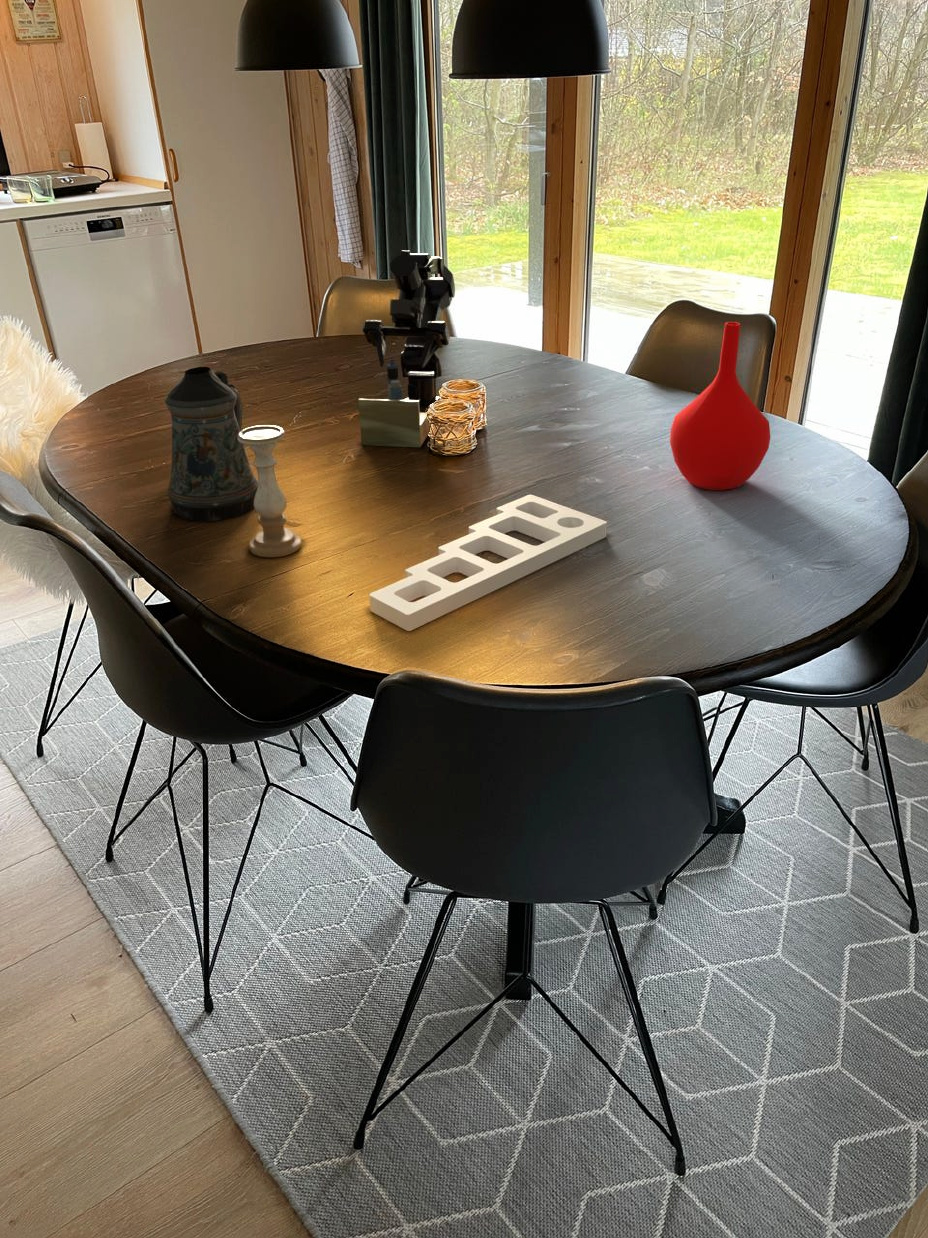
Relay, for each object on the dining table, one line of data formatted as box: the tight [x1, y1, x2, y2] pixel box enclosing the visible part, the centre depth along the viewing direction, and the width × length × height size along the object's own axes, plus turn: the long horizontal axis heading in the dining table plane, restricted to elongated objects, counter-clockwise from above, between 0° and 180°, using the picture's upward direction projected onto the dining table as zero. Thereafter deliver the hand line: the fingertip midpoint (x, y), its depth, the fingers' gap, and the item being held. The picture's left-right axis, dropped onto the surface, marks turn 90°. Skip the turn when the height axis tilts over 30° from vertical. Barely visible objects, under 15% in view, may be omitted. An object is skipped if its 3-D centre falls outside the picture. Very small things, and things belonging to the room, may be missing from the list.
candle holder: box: [237, 424, 302, 558], centre depth 158 cm, size 9×9×20 cm
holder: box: [368, 494, 608, 632], centre depth 156 cm, size 45×18×3 cm, turn 134°
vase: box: [669, 321, 771, 491], centre depth 178 cm, size 18×18×30 cm
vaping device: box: [386, 359, 403, 400], centre depth 206 cm, size 3×5×12 cm, turn 13°
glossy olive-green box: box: [357, 398, 430, 448], centre depth 208 cm, size 10×13×10 cm
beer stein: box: [164, 366, 258, 522], centre depth 175 cm, size 16×19×25 cm
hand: (401, 366), depth 211 cm, fingers open, 9 cm apart
